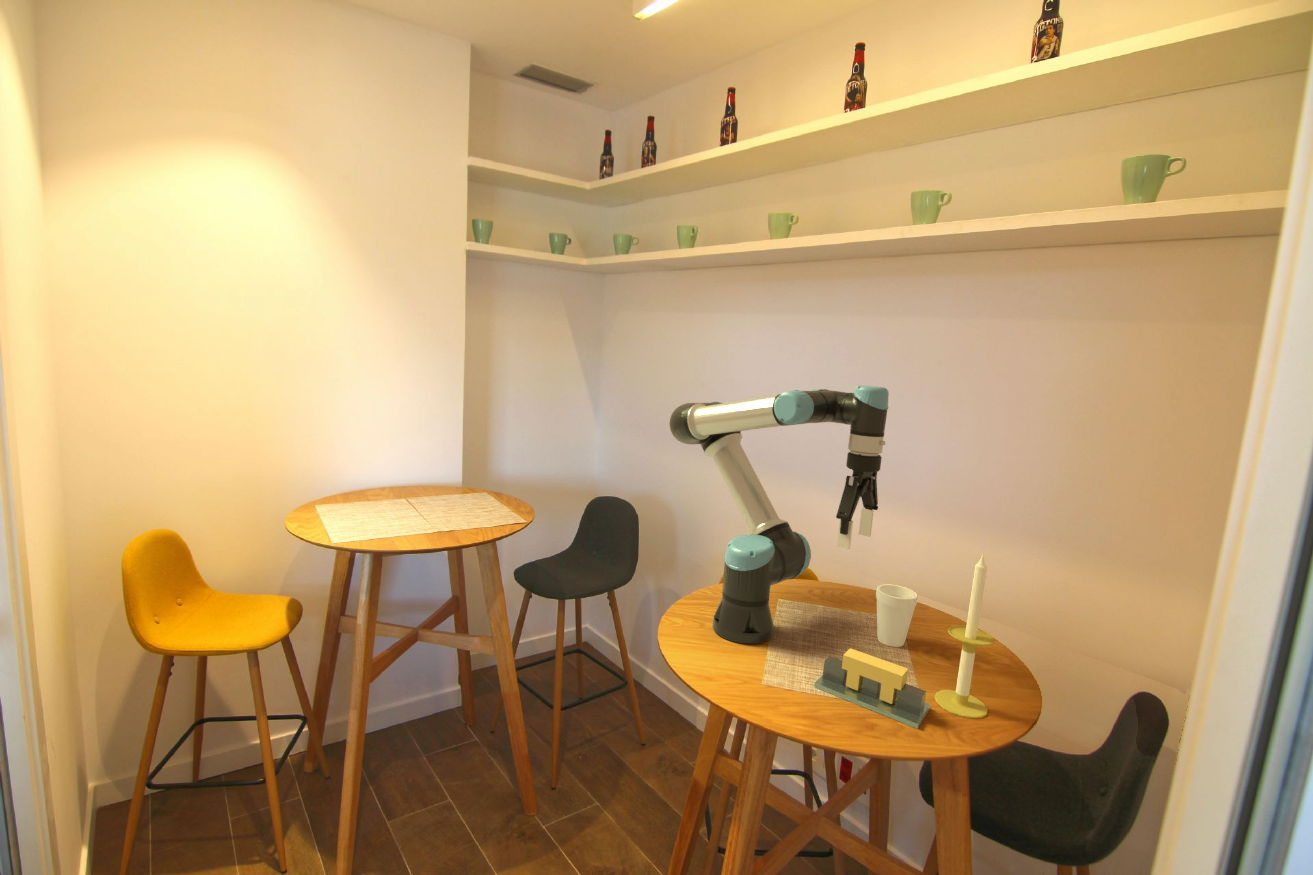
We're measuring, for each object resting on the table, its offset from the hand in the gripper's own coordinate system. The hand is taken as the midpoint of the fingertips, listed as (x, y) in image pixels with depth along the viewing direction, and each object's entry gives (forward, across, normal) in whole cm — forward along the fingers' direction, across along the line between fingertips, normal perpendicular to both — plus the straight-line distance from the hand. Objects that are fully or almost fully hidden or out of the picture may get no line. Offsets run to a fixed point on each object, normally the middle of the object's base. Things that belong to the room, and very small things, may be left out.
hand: (854, 541), depth 145 cm
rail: (+27, -18, -13) cm, 34 cm away
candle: (+27, -6, -28) cm, 39 cm away
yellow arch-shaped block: (+25, -18, -13) cm, 33 cm away
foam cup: (+27, +12, -8) cm, 31 cm away
